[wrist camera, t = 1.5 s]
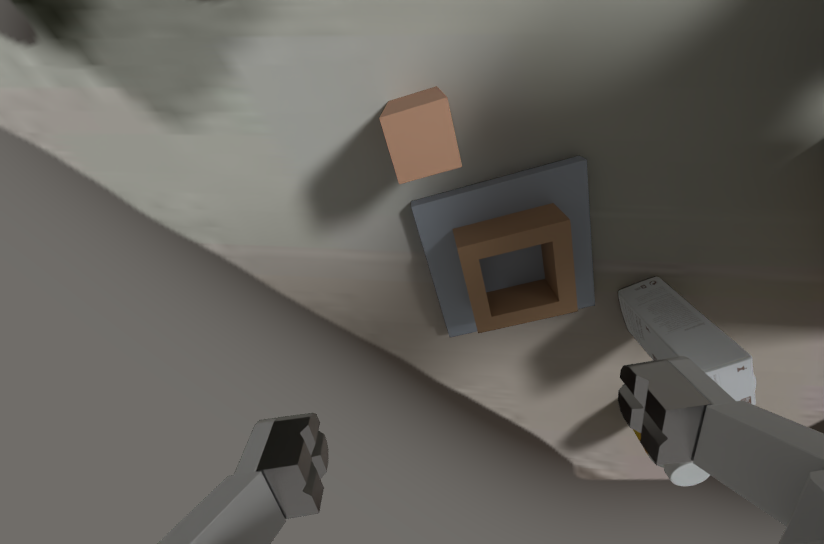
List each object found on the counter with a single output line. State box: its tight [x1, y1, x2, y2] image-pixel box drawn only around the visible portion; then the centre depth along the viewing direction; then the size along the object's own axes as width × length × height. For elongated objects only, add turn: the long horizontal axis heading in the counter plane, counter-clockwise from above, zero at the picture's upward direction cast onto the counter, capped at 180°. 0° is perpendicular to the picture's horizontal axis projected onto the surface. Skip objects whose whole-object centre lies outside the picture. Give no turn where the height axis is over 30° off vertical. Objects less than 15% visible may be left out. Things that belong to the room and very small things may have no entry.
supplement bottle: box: [633, 429, 710, 486], centre depth 43 cm, size 5×5×10 cm
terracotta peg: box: [379, 86, 462, 184], centre depth 27 cm, size 4×4×10 cm
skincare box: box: [618, 277, 756, 405], centre depth 35 cm, size 6×4×12 cm
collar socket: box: [411, 156, 595, 337], centre depth 35 cm, size 15×15×6 cm
